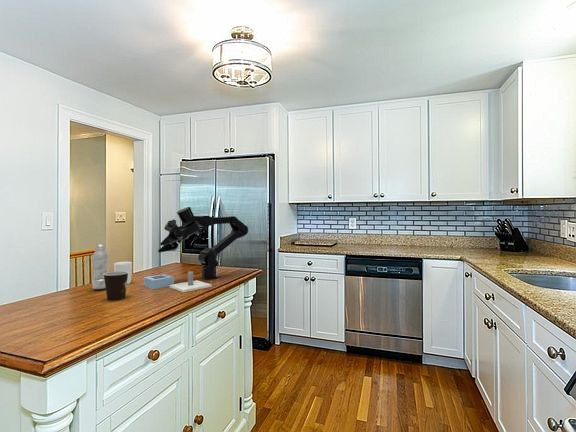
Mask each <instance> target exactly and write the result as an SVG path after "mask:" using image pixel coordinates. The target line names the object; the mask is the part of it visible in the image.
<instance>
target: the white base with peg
mask: <svg viewBox="0 0 576 432" xmlns="http://www.w3.org/2000/svg"><path fill="white" fill-rule="evenodd" d="M169 288H170V289H172V290H173V289H174V290H176V291H179V292H182V293H186V292H191V291H192V292H193V291H196V290H202V289H206V288H212V284H211V283H207V282H204V281H201V280H194V271H193V270H191V271H187V281H185V282H179V283H174V284H173V285H169Z"/></svg>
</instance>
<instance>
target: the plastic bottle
mask: <svg viewBox="0 0 576 432" xmlns="http://www.w3.org/2000/svg"><path fill="white" fill-rule="evenodd" d="M109 257H110V255H109V253H108V252H107V250H106V244H104V243H102V244H99V243H98V244H95V251H94V253H92V255H91V259H92V264H93V265H92V266H93V279H92V288H93V290H99V291H100V290H104V289H105V290H106V287H105V280H104V274H105V273H109V272H108V267H109V266H108V263H109Z"/></svg>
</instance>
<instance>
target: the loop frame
mask: <svg viewBox="0 0 576 432" xmlns="http://www.w3.org/2000/svg"><path fill="white" fill-rule="evenodd" d="M173 284H175V277H174V276H172V275H168V274H165V273H164V274H163V273H162V274H156V275H150V276H143V286H144V287H146V288H149V289H150V290H157V289H162V288H168V287H169V285H173ZM169 288H170V287H169Z"/></svg>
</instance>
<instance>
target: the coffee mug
mask: <svg viewBox="0 0 576 432" xmlns="http://www.w3.org/2000/svg"><path fill="white" fill-rule="evenodd" d="M127 278H128V272H125V271H118V272H114V271H110V272H108V273H105V274H104V280H105V287H106V288H105V293H106V300H107V301H121V300H123V299H125V298H126V294H127V285H128V284H127Z"/></svg>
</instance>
